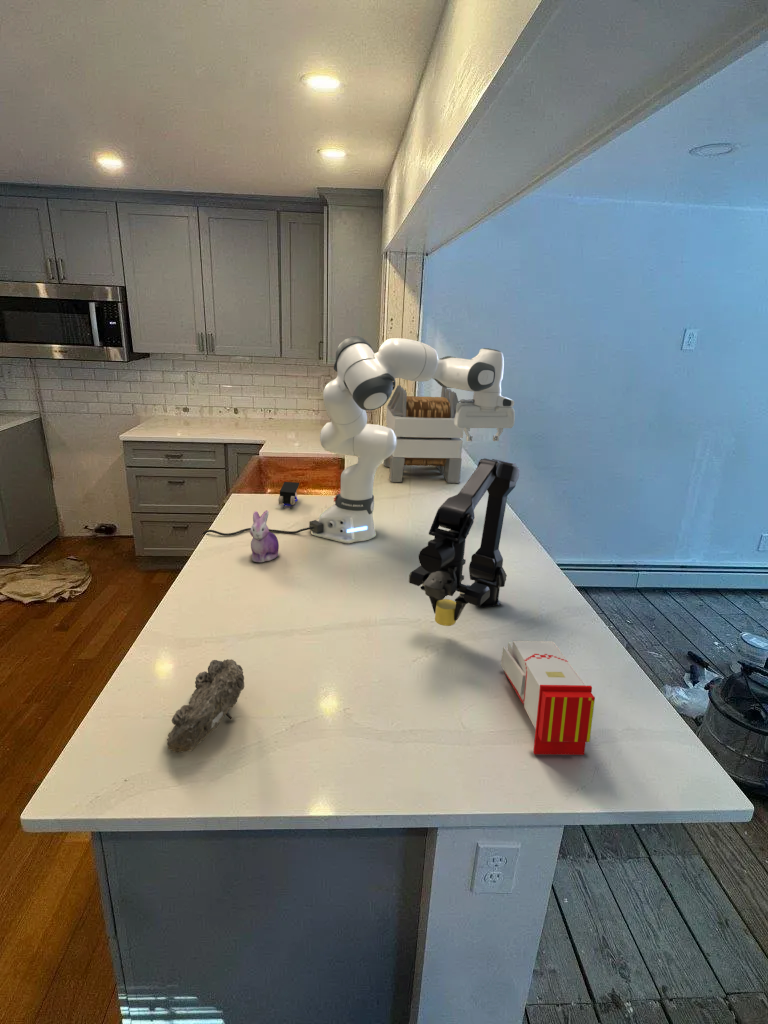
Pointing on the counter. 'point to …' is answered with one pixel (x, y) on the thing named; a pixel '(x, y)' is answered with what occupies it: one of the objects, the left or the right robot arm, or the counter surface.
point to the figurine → (262, 539)
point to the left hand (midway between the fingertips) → (482, 440)
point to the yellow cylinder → (445, 612)
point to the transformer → (424, 434)
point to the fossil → (206, 705)
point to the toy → (550, 696)
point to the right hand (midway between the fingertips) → (445, 616)
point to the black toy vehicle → (288, 494)
